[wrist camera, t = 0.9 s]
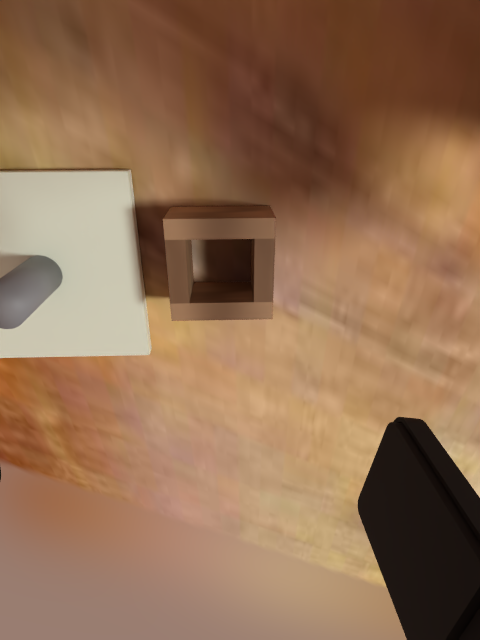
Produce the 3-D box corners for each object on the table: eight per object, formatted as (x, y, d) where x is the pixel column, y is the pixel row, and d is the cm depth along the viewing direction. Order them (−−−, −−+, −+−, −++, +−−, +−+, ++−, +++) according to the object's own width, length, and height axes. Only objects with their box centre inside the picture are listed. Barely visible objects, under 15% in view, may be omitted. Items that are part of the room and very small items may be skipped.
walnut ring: (269, 205, 29) (275, 218, 25) (267, 296, 32) (272, 319, 28) (170, 206, 29) (162, 219, 25) (177, 298, 32) (171, 320, 28)
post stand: (130, 169, 28) (102, 184, 21) (151, 348, 34) (134, 400, 28) (-80, 171, 27) (-172, 186, 21) (-20, 351, 33) (-77, 405, 27)
